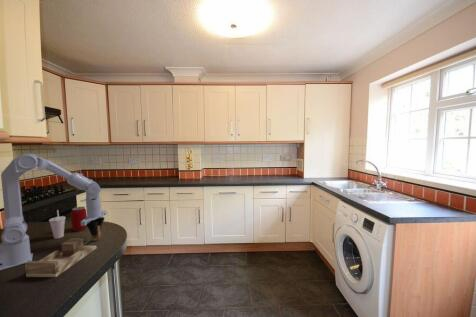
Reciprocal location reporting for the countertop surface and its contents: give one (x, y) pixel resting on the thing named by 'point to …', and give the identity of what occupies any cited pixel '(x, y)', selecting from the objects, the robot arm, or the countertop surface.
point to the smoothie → (57, 226)
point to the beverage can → (78, 218)
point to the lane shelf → (55, 263)
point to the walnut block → (77, 244)
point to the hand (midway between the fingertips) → (95, 234)
